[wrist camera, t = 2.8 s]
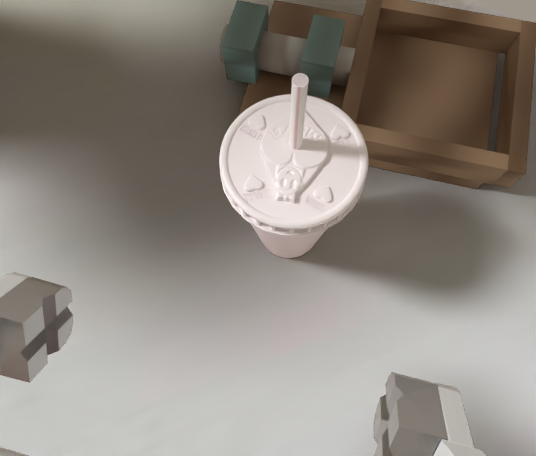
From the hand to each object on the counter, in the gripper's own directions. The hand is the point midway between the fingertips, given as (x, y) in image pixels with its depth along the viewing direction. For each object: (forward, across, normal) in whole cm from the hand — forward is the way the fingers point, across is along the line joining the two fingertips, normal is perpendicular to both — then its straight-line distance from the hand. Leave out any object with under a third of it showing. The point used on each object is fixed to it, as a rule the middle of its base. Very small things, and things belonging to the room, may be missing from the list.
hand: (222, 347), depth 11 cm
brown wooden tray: (+24, -3, -3) cm, 25 cm away
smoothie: (+17, 0, +5) cm, 17 cm away
